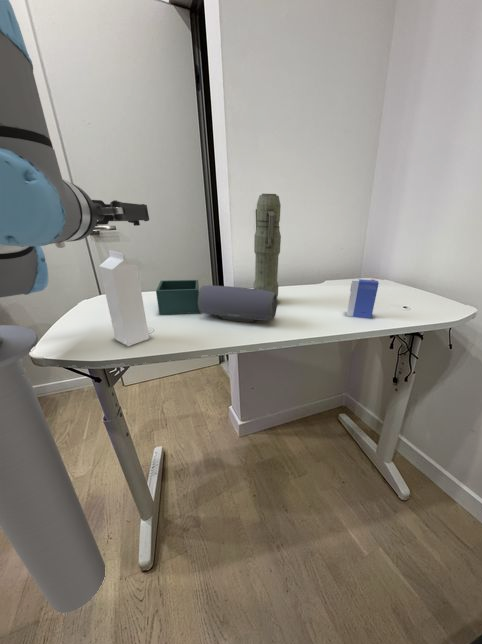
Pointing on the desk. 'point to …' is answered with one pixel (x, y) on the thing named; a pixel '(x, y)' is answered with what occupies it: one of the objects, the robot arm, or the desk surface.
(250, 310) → the bluetooth speaker
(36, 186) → the robot arm
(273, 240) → the thermos
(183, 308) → the box
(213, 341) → the desk surface
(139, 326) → the milk
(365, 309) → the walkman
